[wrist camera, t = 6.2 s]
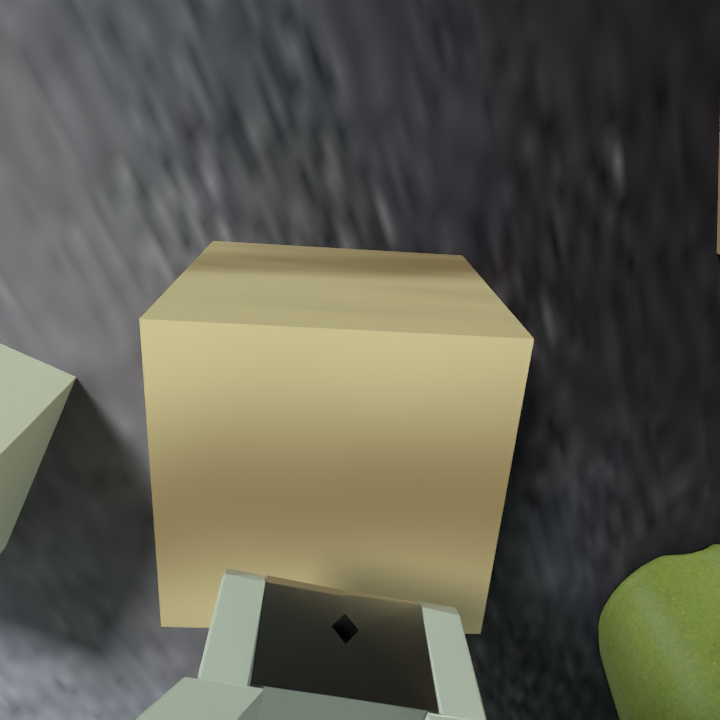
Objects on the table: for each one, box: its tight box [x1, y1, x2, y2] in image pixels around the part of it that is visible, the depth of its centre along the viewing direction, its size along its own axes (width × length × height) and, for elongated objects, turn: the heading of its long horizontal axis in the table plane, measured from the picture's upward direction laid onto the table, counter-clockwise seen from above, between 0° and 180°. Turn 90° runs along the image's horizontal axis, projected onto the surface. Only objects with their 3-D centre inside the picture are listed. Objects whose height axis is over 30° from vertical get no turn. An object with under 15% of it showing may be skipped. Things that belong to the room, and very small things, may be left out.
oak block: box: [139, 241, 534, 634], centre depth 13 cm, size 6×6×6 cm
